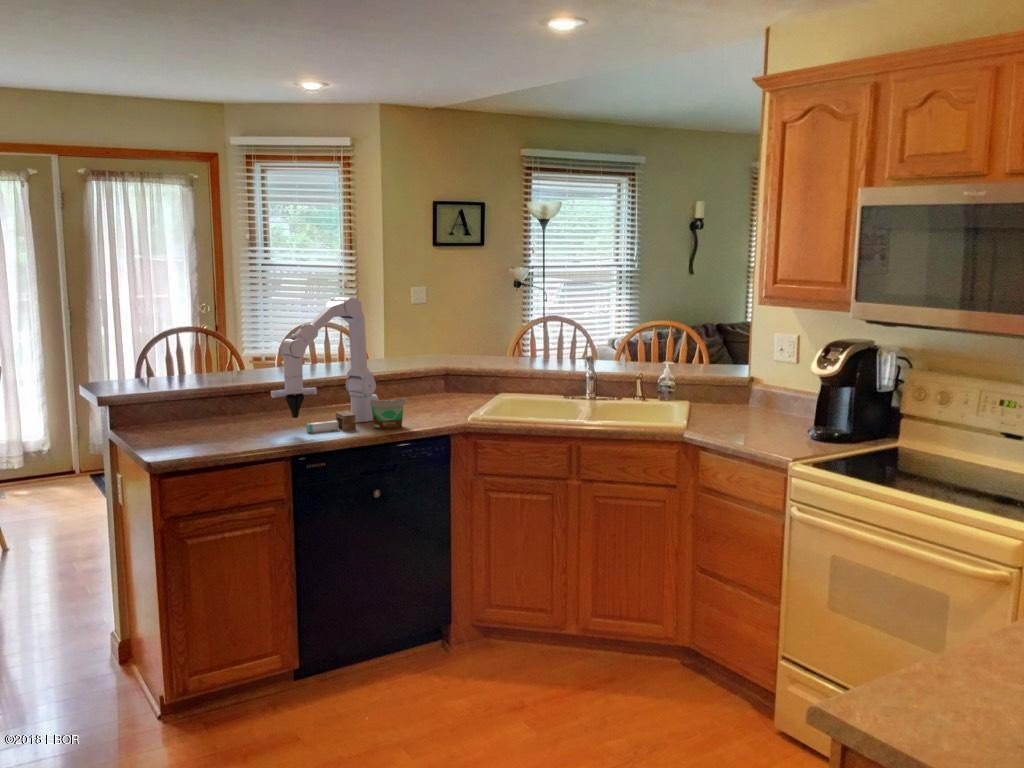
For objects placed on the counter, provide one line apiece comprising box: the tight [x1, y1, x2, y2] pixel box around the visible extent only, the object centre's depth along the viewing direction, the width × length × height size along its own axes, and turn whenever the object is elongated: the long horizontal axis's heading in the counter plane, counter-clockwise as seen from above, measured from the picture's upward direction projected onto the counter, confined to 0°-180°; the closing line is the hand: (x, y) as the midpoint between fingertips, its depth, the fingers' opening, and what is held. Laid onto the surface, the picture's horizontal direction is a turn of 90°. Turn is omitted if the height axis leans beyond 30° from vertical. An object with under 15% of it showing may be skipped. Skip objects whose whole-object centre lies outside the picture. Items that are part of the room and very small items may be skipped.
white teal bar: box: [305, 419, 340, 434], centre depth 287 cm, size 10×3×3 cm, turn 120°
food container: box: [370, 396, 407, 431], centre depth 290 cm, size 12×6×10 cm, turn 117°
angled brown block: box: [335, 410, 356, 432], centre depth 291 cm, size 4×8×5 cm, turn 31°
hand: (295, 417), depth 282 cm, fingers closed
